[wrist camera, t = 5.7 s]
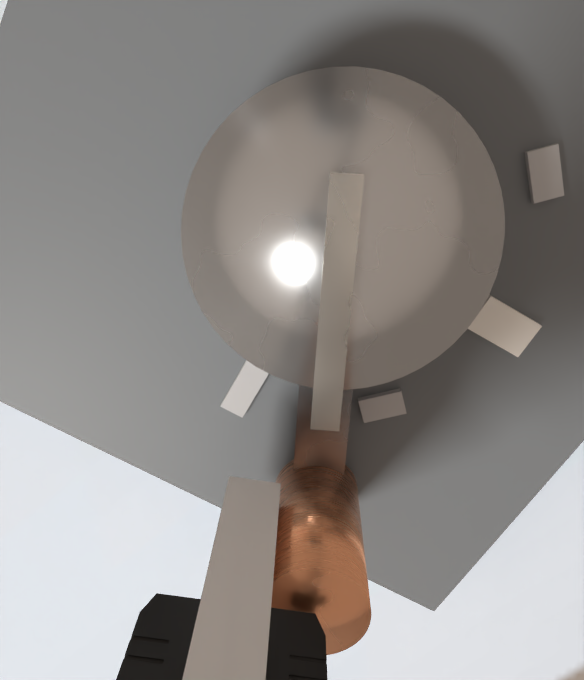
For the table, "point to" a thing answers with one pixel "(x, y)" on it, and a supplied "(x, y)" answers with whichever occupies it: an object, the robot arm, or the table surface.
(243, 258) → the dial
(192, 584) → the table surface
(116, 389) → the board
